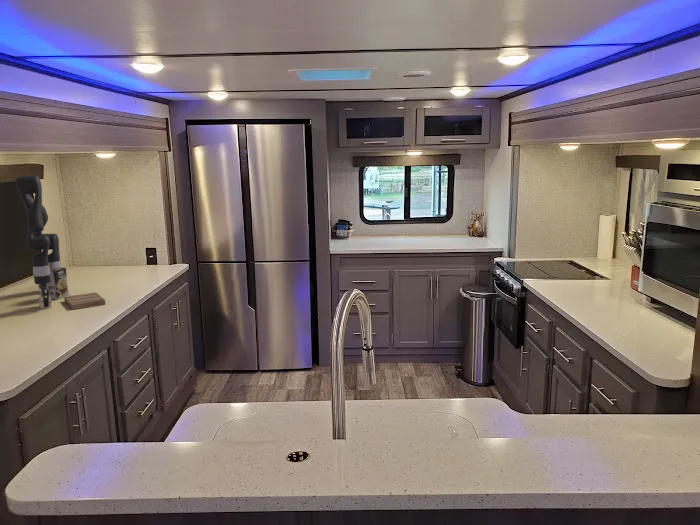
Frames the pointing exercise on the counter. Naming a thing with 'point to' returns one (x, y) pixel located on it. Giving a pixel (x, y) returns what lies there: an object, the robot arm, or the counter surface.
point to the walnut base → (84, 300)
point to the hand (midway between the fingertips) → (45, 305)
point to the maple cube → (43, 303)
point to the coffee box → (58, 283)
